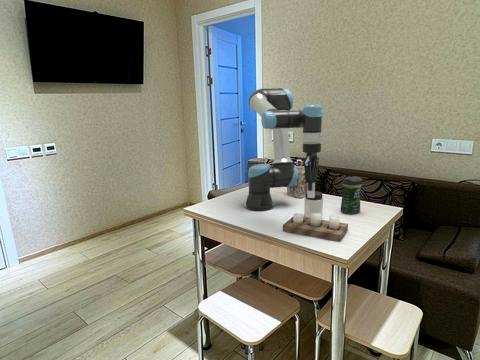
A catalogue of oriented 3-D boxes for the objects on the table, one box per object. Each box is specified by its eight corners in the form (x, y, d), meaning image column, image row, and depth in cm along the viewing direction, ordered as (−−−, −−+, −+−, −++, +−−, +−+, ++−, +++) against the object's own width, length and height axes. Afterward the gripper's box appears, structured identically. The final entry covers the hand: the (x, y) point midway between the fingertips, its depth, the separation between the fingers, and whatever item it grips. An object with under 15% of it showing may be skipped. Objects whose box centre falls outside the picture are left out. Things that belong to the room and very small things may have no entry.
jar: (325, 217, 157) (326, 194, 154) (312, 220, 153) (313, 196, 150) (314, 212, 165) (314, 190, 162) (301, 215, 161) (301, 192, 158)
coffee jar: (350, 215, 158) (352, 179, 154) (337, 211, 165) (339, 176, 161) (363, 212, 163) (365, 176, 159) (350, 208, 170) (352, 174, 166)
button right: (327, 229, 135) (327, 217, 134) (330, 225, 139) (330, 214, 138) (337, 230, 133) (338, 219, 132) (340, 227, 137) (340, 216, 136)
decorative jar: (313, 195, 195) (314, 166, 191) (299, 198, 189) (300, 169, 185) (300, 191, 205) (300, 164, 201) (286, 194, 199) (286, 166, 195)
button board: (282, 231, 141) (282, 224, 140) (294, 221, 153) (294, 214, 152) (340, 241, 128) (340, 234, 128) (347, 230, 140) (348, 223, 140)
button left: (291, 226, 143) (291, 215, 142) (295, 223, 147) (295, 213, 146) (301, 228, 141) (301, 217, 140) (304, 224, 145) (304, 214, 144)
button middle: (309, 226, 139) (309, 215, 138) (312, 222, 143) (312, 212, 142) (318, 227, 137) (319, 216, 136) (321, 224, 141) (322, 213, 140)
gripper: (315, 144, 125) (314, 202, 130) (325, 141, 136) (324, 195, 141) (297, 144, 129) (297, 200, 134) (308, 141, 140) (307, 193, 145)
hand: (310, 197), depth 137 cm, fingers closed
